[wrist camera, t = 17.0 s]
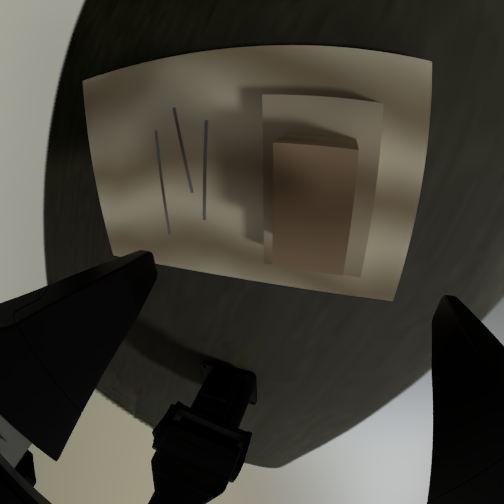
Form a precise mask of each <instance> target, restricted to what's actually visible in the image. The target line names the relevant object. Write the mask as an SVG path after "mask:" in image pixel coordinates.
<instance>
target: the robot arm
mask: <svg viewBox="0 0 504 504" xmlns="http://www.w3.org/2000/svg"><path fill="white" fill-rule="evenodd" d="M156 279H157V269H156V264H155V260H154V256H153V253H152V252H150V251H146V250H138V251H136V252H133V253H130V254H128V255H125V256H122V257H119V258H117V259H114V260H111V261H109V262H106V263H104V264H101V265H98V266H96V267H93V268H91V269H88V270H85V271H83V272H80V273H78V274H75V275H73V276H70V277H68V278H65V279H63V280H60V281H58V282H55V283H53V284H51V285H48V286H45V287H43V288H41V289H38V290H35V291H33V292H30V293H28V294H25V295H22V296H20V297H17V298H14V299H11V300H9V301H6V302H3V303H0V504H51V503H50V502H49V501H48V500H47V499H46V498H44V497H43V496H42V495H41V494H40V493H39V492H38V491H37V490H36V489H35V488H34V485H35V484H36V477H35V471H34V463H33V454H32V453H31V452H30V451H29V450H28V448H29V447H30V445H31V444H32V443H33V444H34V445H35V446H36V447H38V448H39V449H40V450H42V451H43V452H44V453H45V454H47V455H48V456H49V457H51V458H52V459H53V460H55V461H57V460H58V459H59V457H60V455H61V453H62V451H63V449H64V447H65V445H66V443H67V441H68V439H69V437H70V435H71V433H72V431H73V429H74V427H75V425H76V423H77V421H78V419H79V417H80V416H81V413H82V412H83V410H84V408H85V406H86V404H87V402H88V400H89V398H90V397H91V395H92V393H93V391H94V390H95V388H96V386H97V384H98V382H99V381H100V379H101V377H102V375H103V374H104V372H105V370H106V368H107V367H108V365H109V363H110V361H111V360H112V358H113V356H114V355H115V353H116V351H117V349H118V348H119V346H120V344H121V343H122V341H123V339H124V338H125V336H126V334H127V333H128V331H129V330H130V328H131V326H132V325H133V323H134V321H135V320H136V318H137V316H138V315H139V313H140V311H141V309H142V307H143V305H144V303H145V301H146V299H147V297H148V295H149V293H150V291H151V289H152V287H153V285H154V283H155V281H156ZM201 369H202V373H203V377H204V383H203V385H202V387H201V389H200V390H199V392H198V394H197V396H196V398H195V400H194V402H193V404H192V406H191V408H190V407H188V406H185V405H183V404H182V403H181V402H179V401H178V402H177V403H176V405H173V404H171V406H170V408H169V409H168V411H167V413H166V414H165V416H164V417H163V419H162V420H161V421H160V422H159V423H158V425H157V426H156V427H155V428H154V430H153V432H152V434H153V436H154V440H153V442H154V443H153V446H152V448H153V449H155V450H156V452H155V454H154V456H153V458H152V460H151V464H152V473H153V481H154V489H155V492H154V494H153V495H152V497H151V500H150V501H149V503H148V504H206V503H208V502H209V501H211V500H212V499H214V498H215V497H217V496H218V495H220V494H222V493H223V492H224V491H225V489H226V486H227V484H228V482H234V480H235V479H236V478H237V476H238V474H239V472H240V470H241V468H242V466H243V463H244V460H245V457H246V453H247V450H248V446H249V443H250V439H251V436H252V433H251V432H248V431H247V432H246V431H243V430H241V429H238V428H239V426H240V423H241V421H242V418H243V416H244V413H245V410H246V408H247V405H248V404H252V405H255V404H256V402H257V387H256V375H254V374H252V373H248V372H244V371H240V370H236V369H232V368H228V367H224V366H220V365H216V364H212V363H209V362H205V361H203V362H202V363H201ZM432 387H433V450H432V465H431V476H430V486H429V494H428V502H427V504H504V346H503V345H502V344H501V343H500V342H499V340H498V339H497V338H496V337H495V336H494V335H493V334H492V333H491V332H490V331H489V330H488V329H487V327H485V325H484V324H483V323H482V322H481V321H480V320H479V319H478V318H477V317H476V316H475V315H474V314H473V313H472V312H471V311H470V310H469V309H468V308H467V307H466V306H465V305H464V304H463V303H462V302H461V301H460V300H459V299H458V298H457V297H455V296H450V295H444V296H442V298H441V300H440V302H439V304H438V307H437V309H436V311H435V314H434V316H433V319H432Z"/></svg>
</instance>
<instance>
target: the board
mask: <svg viewBox="0 0 504 504" xmlns="http://www.w3.org/2000/svg"><path fill="white" fill-rule="evenodd" d="M431 91H432V61H427V60H423V59H418V58H414V57H409V56H404V55H398V54H393V53H386V52H380V51H373V50H365V49H356V48H346V47H333V46H312V45H271V46H251V47H237V48H227V49H218V50H210V51H202V52H196V53H189V54H183V55H178V56H172V57H167V58H163V59H158V60H153V61H149V62H145V63H141V64H137V65H133V66H129V67H125V68H122V69H118V70H115V71H111V72H108V73H105V74H102V75H99V76H96V77H93V78H90V79H87V80H84V81H83V93H84V104H85V114H86V123H87V131H88V138H89V145H90V151H91V158H92V163H93V169H94V175H95V180H96V185H97V190H98V195H99V199H100V204H101V208H102V213H103V217H104V221H105V225H106V229H107V233H108V237H109V241H110V245H111V248H112V252H113V255H115V256H120V257H122V256H125V255H128V254H130V253H133V252H136V251H138V250H146V251H150V252H152V253H153V256H154V260H155V263H156V264H162V265H167V266H172V267H178V268H183V269H189V270H194V271H200V272H206V273H211V274H217V275H223V276H229V277H235V278H241V279H247V280H253V281H259V282H265V283H271V284H277V285H284V286H290V287H297V288H303V289H310V290H316V291H323V292H330V293H337V294H344V295H351V296H358V297H365V298H373V299H380V300H388V301H393V299H394V296H395V293H396V290H397V286H398V283H399V280H400V276H401V273H402V269H403V266H404V262H405V258H406V255H407V251H408V247H409V243H410V239H411V234H412V230H413V226H414V221H415V217H416V212H417V207H418V202H419V197H420V191H421V185H422V179H423V173H424V166H425V159H426V151H427V143H428V134H429V123H430V110H431ZM263 94H291V95H313V96H328V97H339V98H349V99H358V100H366V101H374V102H380V103H383V121H382V135H381V147H380V157H379V167H378V176H377V184H376V191H375V199H374V206H373V212H372V219H371V225H370V231H369V236H368V242H367V247H366V253H365V258H364V263H363V268H362V272H361V277H354V276H347V275H343V276H342V275H335V274H327V273H321V272H314V271H307V270H300V269H293V268H286V267H279V266H272V265H271V264H264V204H263V119H262V95H263Z"/></svg>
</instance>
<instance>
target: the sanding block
mask: <svg viewBox="0 0 504 504" xmlns="http://www.w3.org/2000/svg"><path fill="white" fill-rule="evenodd" d="M262 119H263V204H264V264H271V265H272V266H279V267H286V268H293V269H300V270H307V271H314V272H321V273H327V274H335V275H342V276H343V275H347V276H354V277H361V272H362V268H363V263H364V258H365V253H366V247H367V242H368V236H369V231H370V225H371V219H372V212H373V206H374V199H375V191H376V184H377V176H378V167H379V157H380V147H381V135H382V121H383V103H380V102H374V101H366V100H358V99H349V98H339V97H328V96H313V95H291V94H263V95H262Z"/></svg>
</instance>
